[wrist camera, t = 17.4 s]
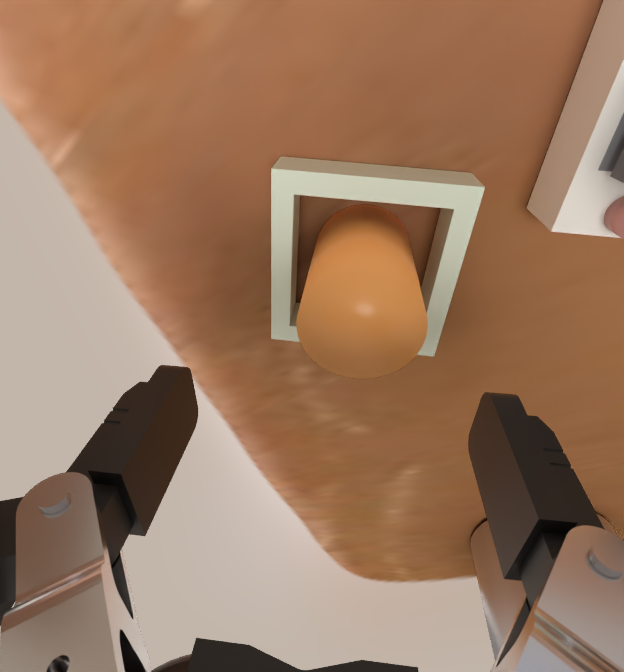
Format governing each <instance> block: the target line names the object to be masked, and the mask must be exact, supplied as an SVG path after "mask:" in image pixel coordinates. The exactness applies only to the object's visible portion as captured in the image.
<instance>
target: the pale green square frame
mask: <svg viewBox="0 0 624 672" xmlns="http://www.w3.org/2000/svg"><path fill="white" fill-rule="evenodd" d="M484 189H485V187H484V186H483V185H482V183H481V182H480V181H479V180H478V179H477V178H476V177H475V176H474V175H473V174H472V173H468V172H457V171H445V170H434V169H422V168H410V167H399V166H387V165H376V164H364V163H353V162H341V161H330V160H318V159H307V158H295V157H284V156H281V157H280V158H279V159H278V161H277V162H276V163H275V165H274V166H273V167H272V168H271V339H277V340H287V341H296V342H300V341H299V338H298V334H297V326H296V321H297V314H298V311H299V307H300V303H296V284H297V260H298V237H299V213H300V195H306V196H317V197H328V198H339V199H350V200H360V201H371V202H382V203H393V204H404V205H415V206H426V207H437V208H441V210H440V214H439V218H438V222H437V226H436V230H435V234H434V238H433V242H432V246H431V250H430V254H429V258H428V263H427V267H426V271H425V275H424V279H423V283H422V287H421V292H422V297H423V301H424V305H425V309H426V314H427V320H428V330H427V335H426V339H425V341H424V344H423V346H422V348H421V349H420V351H419V352H418V354H417V355H424V356H433V357H434V355H435V352H436V348H437V345H438V342H439V338H440V335H441V332H442V328H443V325H444V322H445V319H446V315H447V312H448V309H449V305H450V302H451V299H452V295H453V292H454V289H455V285H456V282H457V279H458V275H459V272H460V269H461V265H462V262H463V259H464V256H465V252H466V249H467V246H468V242H469V239H470V236H471V232H472V229H473V226H474V222H475V219H476V216H477V212H478V209H479V206H480V203H481V199H482V196H483V193H484Z"/></svg>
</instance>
